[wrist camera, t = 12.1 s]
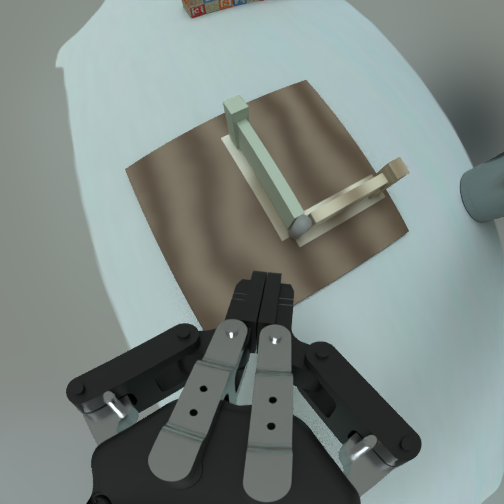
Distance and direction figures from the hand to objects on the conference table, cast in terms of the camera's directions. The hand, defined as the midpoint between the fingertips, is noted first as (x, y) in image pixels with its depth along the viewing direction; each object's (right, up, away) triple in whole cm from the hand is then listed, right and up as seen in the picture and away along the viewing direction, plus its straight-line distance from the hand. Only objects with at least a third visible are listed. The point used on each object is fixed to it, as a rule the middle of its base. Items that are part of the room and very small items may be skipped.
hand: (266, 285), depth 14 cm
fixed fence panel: (+11, +7, +19) cm, 23 cm away
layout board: (+1, +9, +20) cm, 22 cm away
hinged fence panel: (+1, +10, +19) cm, 22 cm away
